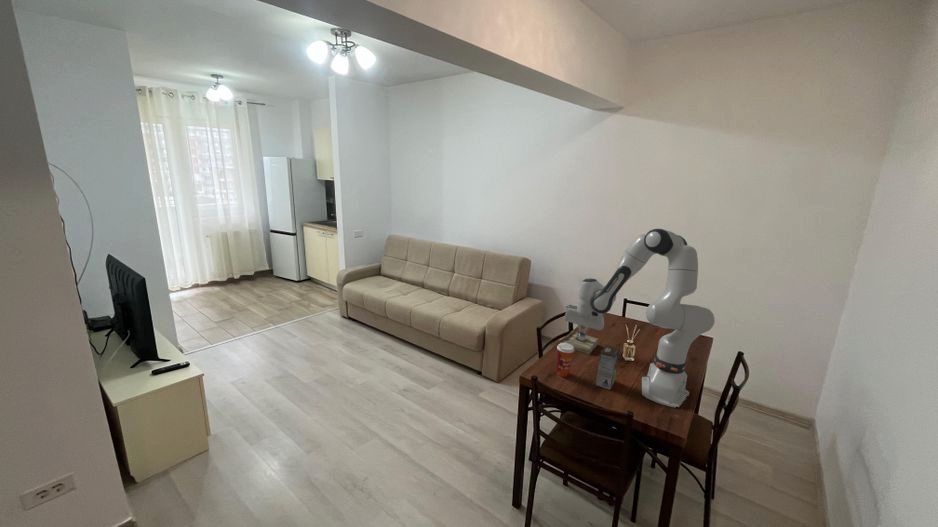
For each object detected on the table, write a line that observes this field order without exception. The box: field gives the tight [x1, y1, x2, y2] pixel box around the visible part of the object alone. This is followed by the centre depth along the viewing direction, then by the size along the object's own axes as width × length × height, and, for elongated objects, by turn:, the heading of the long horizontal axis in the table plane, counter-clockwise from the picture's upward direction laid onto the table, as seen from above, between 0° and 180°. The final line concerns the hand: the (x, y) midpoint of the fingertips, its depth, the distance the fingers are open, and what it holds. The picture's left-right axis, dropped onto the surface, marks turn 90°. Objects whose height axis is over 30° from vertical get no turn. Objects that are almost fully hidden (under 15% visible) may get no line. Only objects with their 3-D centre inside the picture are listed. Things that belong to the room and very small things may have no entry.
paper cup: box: [555, 342, 575, 378], centre depth 169 cm, size 8×8×14 cm
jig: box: [563, 329, 599, 355], centre depth 199 cm, size 14×14×5 cm
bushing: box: [577, 331, 587, 342], centre depth 199 cm, size 4×4×7 cm
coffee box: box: [595, 344, 621, 390], centre depth 163 cm, size 9×6×16 cm
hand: (582, 332), depth 198 cm, fingers closed
